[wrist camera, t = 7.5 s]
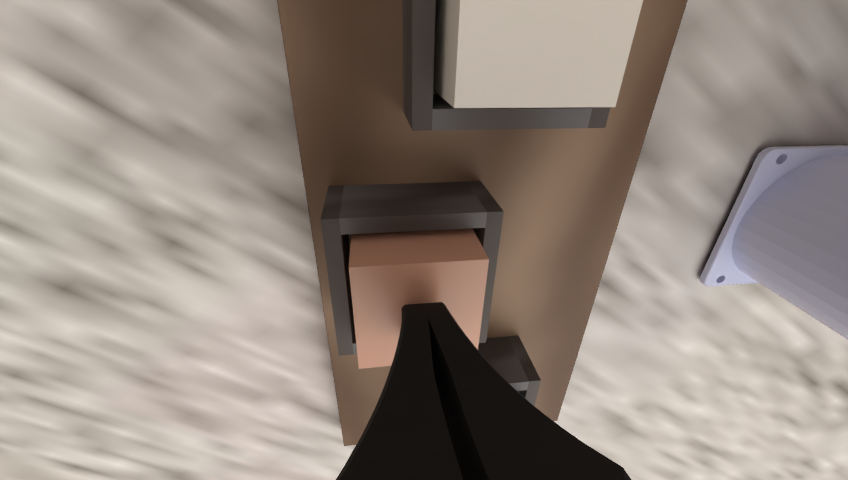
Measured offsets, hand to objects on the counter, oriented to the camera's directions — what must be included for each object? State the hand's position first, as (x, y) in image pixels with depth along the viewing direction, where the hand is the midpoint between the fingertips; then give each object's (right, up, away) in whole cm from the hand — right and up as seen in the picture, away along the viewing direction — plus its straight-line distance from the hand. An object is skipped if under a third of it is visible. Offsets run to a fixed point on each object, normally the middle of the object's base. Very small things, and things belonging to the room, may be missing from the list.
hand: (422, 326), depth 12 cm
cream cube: (+3, +10, -1) cm, 10 cm away
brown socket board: (+2, +3, +6) cm, 7 cm away
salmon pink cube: (-1, +2, +3) cm, 4 cm away
